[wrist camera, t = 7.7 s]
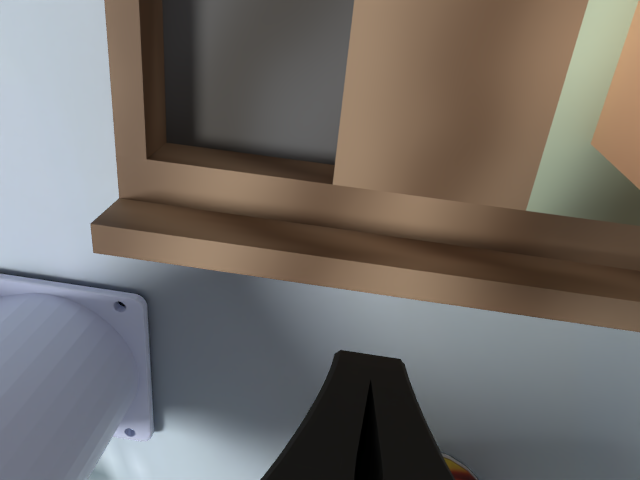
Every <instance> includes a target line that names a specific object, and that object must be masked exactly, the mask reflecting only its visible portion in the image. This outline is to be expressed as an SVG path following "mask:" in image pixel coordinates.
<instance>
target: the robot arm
mask: <svg viewBox="0 0 640 480" xmlns="http://www.w3.org/2000/svg"><path fill="white" fill-rule="evenodd" d="M118 301H120V302H122V303H123V304H125V306H126V307H123V306H121V305H120V304H119V303H118ZM132 429H133V430H132ZM153 433H154V421H153V403H152V384H151V366H150V348H149V330H148V311H147V303H146V301H145V300H144V298H143V297H141V296H140V295H137V294H134V293H127V292H120V291H114V290H107V289H100V288H93V287H87V286H80V285H73V284H67V283H60V282H53V281H47V280H40V279H33V278H26V277H20V276H13V275H6V274H0V480H88V478H89V476H90V475H91V473H92V471H93V469H94V468H95V466H96V464H97V463H98V461H99V459H100V457H101V456H102V454H103V452H104V450H105V449H106V447H107V445H108V444H109V442H110V440H111V438H112V437H118V438H124V439H130V440H136V441H148V440H149V439H150V438H151V437H152V435H153ZM261 480H455V478H454V476H453V474H452V473H451V471H450V469H449V467H448V465H447V464H446V462H445V460H444V458H443V456H442V454H441V452H440V450H439V448H438V446H437V444H436V442H435V440H434V438H433V435H432V433H431V431H430V429H429V427H428V425H427V423H426V421H425V418H424V416H423V414H422V411H421V409H420V407H419V404H418V402H417V399H416V397H415V394H414V392H413V389H412V386H411V383H410V381H409V378H408V374H407V371H406V368H405V364H404V363H403V362H402V361H401V359H396V358H389V357H383V356H376V355H370V354H363V353H356V352H350V351H343V350H340V351H338V352H337V353H335V354H334V359H333V362H332V365H331V368H330V371H329V373H328V376H327V378H326V380H325V382H324V384H323V386H322V388H321V390H320V392H319V394H318V396H317V398H316V399H315V401H314V403H313V405H312V406H311V408H310V410H309V412H308V413H307V415H306V417H305V418H304V420H303V422H302V423H301V425H300V426H299V428H298V429H297V431H296V432H295V434H294V435H293V437H292V438H291V440H290V441H289V442H288V444H287V445H286V447H285V448H284V450H283V451H282V453H281V454H280V455H279V457H278V458H277V459H276V461H275V462H274V463H273V465H272V466H271V467H270V468H269V470H268V471H267V472H266V474H265V475H264V476H263V477H262V478H261Z"/></svg>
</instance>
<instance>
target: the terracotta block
mask: <svg viewBox="0 0 640 480" xmlns="http://www.w3.org/2000/svg"><path fill="white" fill-rule="evenodd" d="M591 145H592V146H593V147H594V148H595V149H597V150H598V151H599V152H600V153H601V154H602V155H603V156H604V157H605V158H606V159H607V160H608V161H609V162H610V163H612V164H613V165H614V166H615V167H616V168H617V169H618V170H619V171H620V172H621V173H622V174H623V175H624V176H626V177H627V178H628V179H629V180H630V181H631V182H632V183H633V184H634V185H635V186H636V187H637V188H638V189H639V190H640V0H639V1H638V4H637V7H636V10H635V13H634V16H633V19H632V22H631V25H630V28H629V31H628V34H627V37H626V40H625V43H624V46H623V49H622V52H621V55H620V58H619V61H618V64H617V67H616V70H615V73H614V76H613V79H612V82H611V85H610V88H609V90H608V93H607V96H606V99H605V102H604V105H603V108H602V111H601V114H600V117H599V120H598V123H597V126H596V129H595V132H594V135H593V138H592V141H591Z"/></svg>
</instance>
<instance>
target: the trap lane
mask: <svg viewBox="0 0 640 480" xmlns="http://www.w3.org/2000/svg"><path fill="white" fill-rule="evenodd" d="M638 1H639V0H105V14H106V27H107V41H108V54H109V67H110V81H111V94H112V107H113V121H114V134H115V148H116V161H117V174H118V188H119V199H118V200H117V201H116V202H114V203H113V204H112V205H111V206H110V207H109V208H108V209H107V210H105V211H104V212H103V213H102V214H101V215H100V216H99V217H98V218H96V219H95V220H94V221H93V222H92V223H91V234H92V243H93V253H98V254H105V255H112V256H119V257H126V258H133V259H140V260H147V261H153V262H160V263H167V264H174V265H181V266H188V267H195V268H202V269H208V270H215V271H222V272H229V273H236V274H243V275H250V276H257V277H263V278H270V279H277V280H284V281H291V282H298V283H305V284H311V285H318V286H325V287H332V288H339V289H346V290H353V291H360V292H366V293H373V294H380V295H387V296H394V297H401V298H408V299H415V300H421V301H428V302H435V303H442V304H449V305H456V306H463V307H470V308H476V309H483V310H490V311H497V312H504V313H511V314H518V315H525V316H531V317H538V318H545V319H552V320H559V321H566V322H573V323H580V324H586V325H593V326H600V327H607V328H614V329H621V330H628V331H635V332H640V190H639V189H638V188H637V187H636V186H635V185H634V184H633V183H632V182H631V181H630V180H629V179H628V178H627V177H626V176H624V175H623V174H622V173H621V172H620V171H619V170H618V169H617V168H616V167H615V166H614V165H613V164H612V163H610V162H609V161H608V160H607V159H606V158H605V157H604V156H603V155H602V154H601V153H600V152H599V151H598V150H597V149H595V148H594V147H593V146H592V145H591V141H592V138H593V135H594V132H595V129H596V126H597V123H598V120H599V117H600V114H601V111H602V108H603V105H604V102H605V99H606V96H607V93H608V90H609V88H610V85H611V82H612V79H613V76H614V73H615V70H616V67H617V64H618V61H619V58H620V55H621V52H622V49H623V46H624V43H625V40H626V37H627V34H628V31H629V28H630V25H631V22H632V19H633V16H634V13H635V10H636V7H637V4H638Z"/></svg>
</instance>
